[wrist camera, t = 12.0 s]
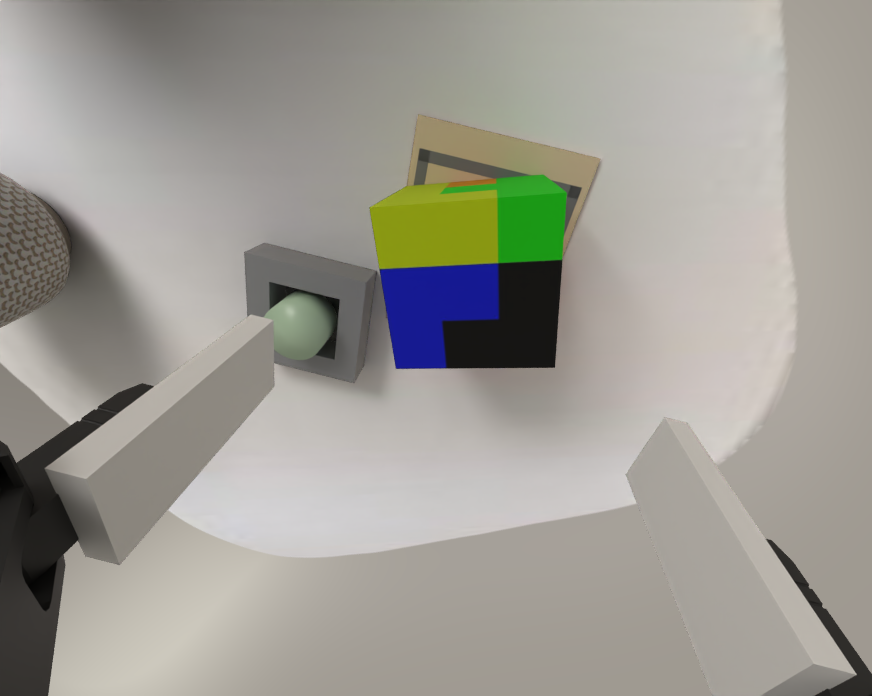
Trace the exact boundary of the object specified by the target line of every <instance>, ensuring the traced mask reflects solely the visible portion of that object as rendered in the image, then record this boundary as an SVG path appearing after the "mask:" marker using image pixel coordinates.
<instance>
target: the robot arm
mask: <svg viewBox="0 0 872 696" xmlns="http://www.w3.org/2000/svg"><path fill="white" fill-rule="evenodd" d="M273 387H274V323H273V320H271V319H267V318H263V317H259V316H255V315H249V316H248V317H247V318H245V319H244V320H243V321H241V322H240V323H239V324H237V325H236V326H235V327H233V328H232V329H231V330H229V331H228V332H227V333H225V334H224V335H223V336H221V337H220V338H219V339H217V340H216V341H215V342H213V343H212V344H211V345H209V346H208V347H207V348H205V349H204V350H203V351H201V352H200V353H198V354H197V355H196V356H194V357H193V358H192V359H190V360H189V361H188V362H186V363H185V364H184V365H182V366H181V367H180V368H178V369H177V370H176V371H174V372H173V373H172V374H170V375H169V376H168V377H166V378H165V379H164V380H162V381H161V382H160V383H158V384H157V385H156V386H151V385H147V384H143V383H142V384H139V385H137V386H134V387H132V388H129V389H127V390H124V391H122V392H119V393H117V394H116V395H114V396H113V397H111V398H110V399H109V400H107V401H106V402H104V403H103V404H101V405H100V406H98V409H97V410H95V409H94V410H93V411H91V412H90V413H88V414H87V415H85V416H84V417H83V418H82V419H81V421H80V422H79V421H77V422H75V423H74V424H72V425H71V426H69V427H68V428H67V429H65V430H64V431H62V432H61V433H59V434H58V435H57V436H55V437H54V438H52V439H51V440H49V441H48V442H46V443H45V444H44V445H42V446H41V447H39V448H38V449H36V450H35V451H33V452H32V453H30V454H29V455H28V456H26V457H25V458H23V459H22V460H20V461H19V462H17V463H16V462H15V460H14V458H13V456H12V454H11V452H10V450H9V448H8V446H7V445H5V444H4V443H3V442H1V441H0V696H48V692H49V684H50V677H51V669H52V662H53V654H54V647H55V639H56V631H57V624H58V616H59V608H60V601H61V594H62V586H63V578H64V571H65V560H64V555H63V554H64V553H65V552H66V551H67V550H68V549H69V548H70V547H71V546H73V544H75V543H76V541H78V542H79V543H80V546H81V548H82V550H83V552H84V554H85V556H86V557H90V558H94V559H98V560H102V561H106V562H110V563H114V564H117V565H120V564H121V563H122V562H123V561H124V560H125V558H126V557H127V556H128V555H129V554H130V552H131V551H132V550H133V549H134V548H135V547H136V546H137V544H138V543H139V542H140V541H141V540H142V539H143V538H144V536H145V535H146V534H147V533H148V532H149V531H150V529H151V528H152V527H153V526H154V525H155V524H156V523H157V521H158V520H159V519H160V518H161V517H162V516H163V514H164V513H165V512H166V511H167V510H168V509H169V508H170V506H171V505H172V504H173V503H174V502H175V501H176V499H177V498H178V497H179V496H180V495H181V494H182V493H183V491H184V490H185V489H186V488H187V487H188V486H189V484H190V483H191V482H192V481H193V480H194V479H195V478H196V476H197V475H198V474H199V473H200V472H201V471H202V469H203V468H204V467H205V466H206V465H207V464H208V462H209V461H210V460H211V459H212V458H213V457H214V456H215V454H216V453H217V452H218V451H219V450H220V449H221V447H222V446H223V445H224V444H225V443H226V442H227V441H228V439H229V438H230V437H231V436H232V435H233V434H234V432H235V431H236V430H237V429H238V428H239V427H240V425H241V424H242V423H243V422H244V421H245V420H246V419H247V417H248V416H249V415H250V414H251V413H252V412H253V410H254V409H255V408H256V407H257V406H258V405H259V404H260V402H261V401H262V400H263V399H264V398H265V397H266V395H267V394H268V393H269V392H270V391H271V390H272V388H273ZM626 476H627V479H628V481H629V484H630V487H631V489H632V492H633V494H634V497H635V499H636V502H637V504H638V507H639V510H640V512H641V515H642V517H643V520H644V522H645V525H646V527H647V530H648V533H649V535H650V538H651V540H652V543H653V546H654V548H655V551H656V553H657V556H658V558H659V561H660V563H661V566H662V569H663V571H664V574H665V576H666V578H667V581H668V584H669V586H670V589H671V592H672V594H673V597H674V599H675V602H676V604H677V607H678V609H679V612H680V615H681V617H682V620H683V622H684V625H685V628H686V630H687V633H688V635H689V638H690V640H691V643H692V645H693V648H694V651H695V653H696V656H697V658H698V661H699V663H700V666H701V668H702V671H703V674H704V676H705V679H706V681H707V684H708V686H709V689H710V691H711V694H712V696H872V674H871V672H870V671H869V670H868V668H867V667H866V665H865V664H864V662H863V661H862V660H861V658H860V657H859V655H858V654H857V652H856V651H855V650H854V648H853V647H852V646H851V644H850V643H849V641H848V639H847V638H846V637H845V635H844V634H843V632H842V631H841V630H840V628H839V627H838V625H837V624H836V623H835V621H834V620H833V618H832V617H831V615H830V614H829V613H828V611H827V610H826V609H824V608H823V607H822V602H821V601H820V600H819V598H818V597H817V595H816V594H815V592H814V591H813V590H812V589H809V587H808V586H809V584H808V583H807V581H806V580H805V578H804V577H803V575H802V574H801V573H800V571H799V570H798V568H797V567H796V565H795V564H794V563H793V561H792V560H791V559H790V558H789V557H788V556H787V555H786V554H785V553H784V552H783V551H782V550H781V549H780V548H778V546H777V545H776V544H775V543H774V542H773V541H772V540H768V539H765V538H764V536H763V535H762V533H761V532H760V530H759V529H758V527H757V526H756V524H755V523H754V521H753V520H752V518H751V517H750V515H749V514H748V512H747V511H746V509H745V508H744V507H743V505H742V503H741V502H740V500H739V499H738V497H737V496H736V494H735V493H734V491H733V490H732V488H731V487H730V485H729V484H728V483H727V481H726V480H725V478H724V477H723V475H722V474H721V472H720V471H719V469H718V468H717V466H716V465H715V463H714V462H713V460H712V459H711V457H710V456H709V454H708V453H707V451H706V450H705V448H704V447H703V445H702V444H701V442H700V441H699V439H698V438H697V436H696V435H695V433H694V432H693V431H692V429H691V428H690V426H689V425H688V423H685V422H681V421H677V420H673V419H669V418H665V417H664V419H663V420H662V422H661V423H660V425H659V426H658V428H657V429H656V431H655V432H654V433H653V435H652V436H651V438H650V439H649V441H648V442H647V444H646V445H645V447H644V448H643V450H642V451H641V453H640V454H639V456H638V457H637V459H636V460H635V462H634V463H633V464H632V466H631V467H630V469H629V470H628V472H627V473H626Z"/></svg>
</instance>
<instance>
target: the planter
mask: <svg viewBox="0 0 872 696" xmlns="http://www.w3.org/2000/svg"><path fill="white" fill-rule="evenodd" d="M70 254H71V240H70V236H69V234H68V231H67V229H66V227H65V225H64V223H63V222H62V220H61V219H60V217H59V216H58V215H57V213H56V212H55V211H54V210H53V209H52V208H51V207H50V206H49V205H48V204H47V203H46V202H44V201H43V200H42V199H40V198H39V197H37V196H36V195H34V194H32V193H31V192H28V191H27V190H26V189H25V188H23V187H22V186H20V185H19V184H18V183H16V182H15V181H13V180H12V179H10V178H9V177H7V176H5V175H3V174H2V173H0V328H1V327H3V326H5V325H7V324H9V323H11V322H13V321H15V320H17V319H19V318H21V317H23V316H25V315H27V314H29V313H31V312H33V311H34V310H36V309H38V308H40V307H41V306H43V305H44V304H46V303H48V302H49V301H50V300H51V299H53V298H54V297H55V296H56V295H57V294H58V293H59V292H60V291H61V290H62V288H63V287H64V285H65V284H66V281H67V278H68V275H69V268H70V258H69V257H70Z"/></svg>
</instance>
